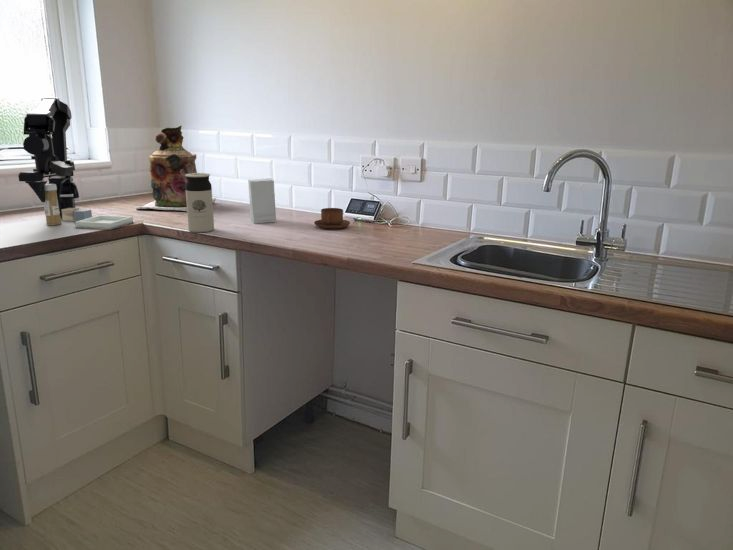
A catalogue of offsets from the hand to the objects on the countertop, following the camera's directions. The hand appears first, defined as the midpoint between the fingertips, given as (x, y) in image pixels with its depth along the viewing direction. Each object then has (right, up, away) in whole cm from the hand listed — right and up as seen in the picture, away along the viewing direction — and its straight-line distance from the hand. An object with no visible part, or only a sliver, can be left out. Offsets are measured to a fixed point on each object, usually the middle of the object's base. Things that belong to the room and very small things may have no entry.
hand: (50, 200), depth 188 cm
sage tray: (+17, -8, +2) cm, 19 cm away
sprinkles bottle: (0, -8, +2) cm, 8 cm away
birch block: (+1, -5, +11) cm, 12 cm away
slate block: (+7, -6, +8) cm, 12 cm away
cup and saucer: (+93, -9, +3) cm, 94 cm away
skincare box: (+69, -6, +11) cm, 70 cm away
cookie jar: (+28, +3, +41) cm, 50 cm away
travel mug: (+51, -10, -4) cm, 53 cm away
